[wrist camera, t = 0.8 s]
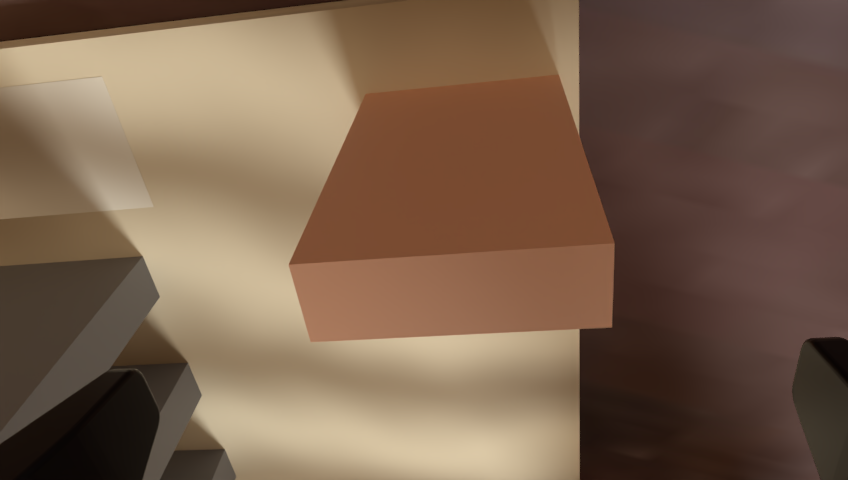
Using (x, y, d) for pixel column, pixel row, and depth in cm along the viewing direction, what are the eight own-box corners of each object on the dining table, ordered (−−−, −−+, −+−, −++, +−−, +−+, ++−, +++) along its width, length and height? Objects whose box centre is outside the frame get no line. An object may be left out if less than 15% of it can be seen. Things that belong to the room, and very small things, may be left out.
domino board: (576, 550, 28) (579, 572, 27) (115, 552, 31) (104, 572, 30) (573, -28, 16) (578, -20, 15) (-195, 65, 19) (-228, 75, 18)
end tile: (559, 133, 17) (611, 327, 10) (375, 149, 18) (310, 342, 11) (558, 74, 16) (614, 244, 9) (365, 94, 17) (288, 264, 10)
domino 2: (202, 395, 23) (88, 621, 17) (76, 400, 24) (-83, 620, 17) (188, 362, 23) (62, 586, 16) (58, 368, 23) (-116, 586, 16)
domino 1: (159, 296, 21) (8, 512, 14) (22, 304, 22) (-186, 516, 15) (142, 256, 20) (-27, 465, 13) (-1, 266, 21) (-231, 471, 14)
